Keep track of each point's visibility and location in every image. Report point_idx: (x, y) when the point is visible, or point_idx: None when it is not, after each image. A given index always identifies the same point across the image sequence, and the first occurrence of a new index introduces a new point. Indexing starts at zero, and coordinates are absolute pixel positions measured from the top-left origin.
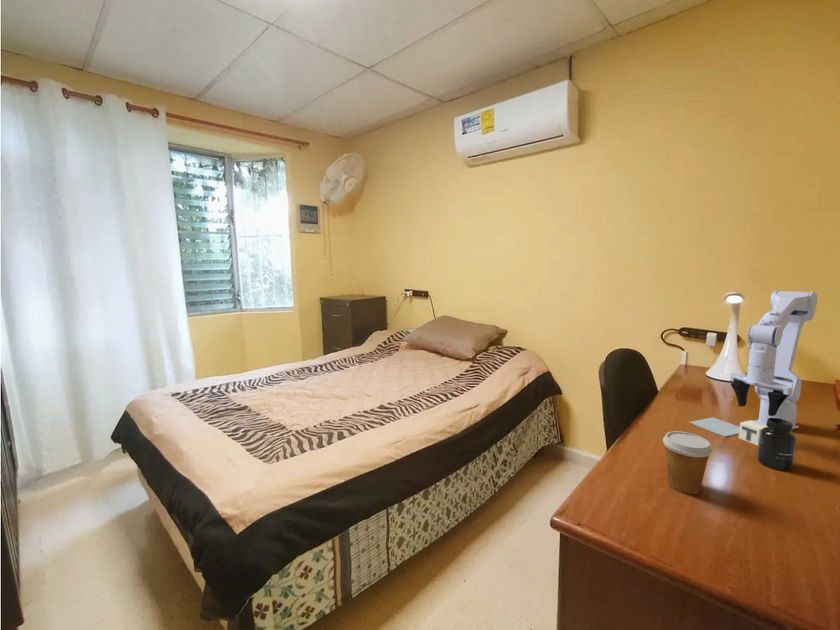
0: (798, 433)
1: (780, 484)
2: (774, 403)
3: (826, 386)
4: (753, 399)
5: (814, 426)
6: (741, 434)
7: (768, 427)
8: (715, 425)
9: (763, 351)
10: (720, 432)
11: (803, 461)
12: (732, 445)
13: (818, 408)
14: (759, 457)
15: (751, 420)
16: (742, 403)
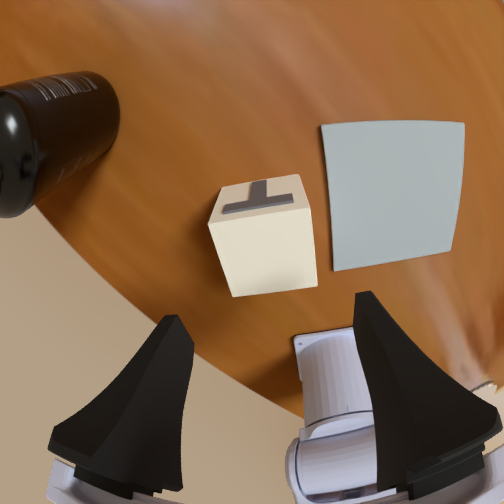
0: (278, 360)
1: (13, 57)
2: (104, 390)
3: None
4: None
5: (297, 396)
6: (290, 184)
7: None
8: (412, 191)
9: None
10: (357, 141)
11: (107, 227)
12: (236, 78)
13: None
14: (81, 72)
15: (314, 284)
16: (360, 321)
